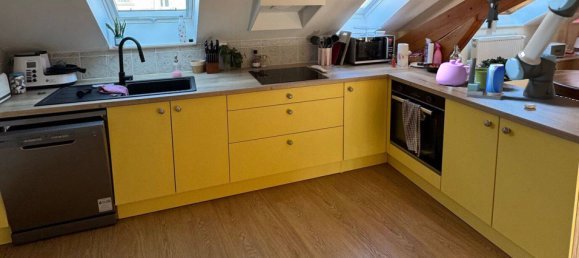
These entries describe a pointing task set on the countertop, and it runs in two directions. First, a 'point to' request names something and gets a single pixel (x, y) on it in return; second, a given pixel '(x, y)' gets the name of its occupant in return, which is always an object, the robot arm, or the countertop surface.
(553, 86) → the robot arm
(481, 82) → the plant pot
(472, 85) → the press ram
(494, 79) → the beer can
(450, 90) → the countertop surface
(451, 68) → the teapot
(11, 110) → the countertop surface
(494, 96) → the press frame
